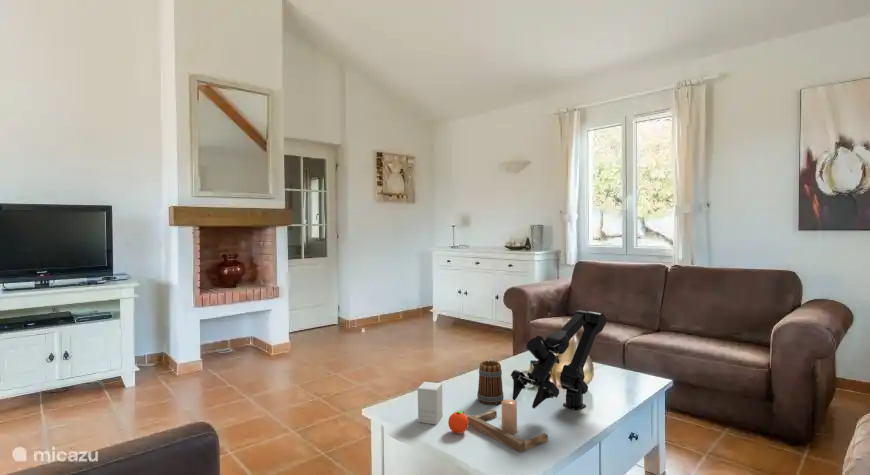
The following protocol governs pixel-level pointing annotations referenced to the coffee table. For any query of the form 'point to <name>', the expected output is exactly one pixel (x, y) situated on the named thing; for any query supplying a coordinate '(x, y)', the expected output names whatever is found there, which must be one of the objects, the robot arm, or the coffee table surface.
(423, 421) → the supplement box
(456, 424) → the clementine
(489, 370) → the mug
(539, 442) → the bay
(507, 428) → the tan cylinder
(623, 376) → the coffee table surface
